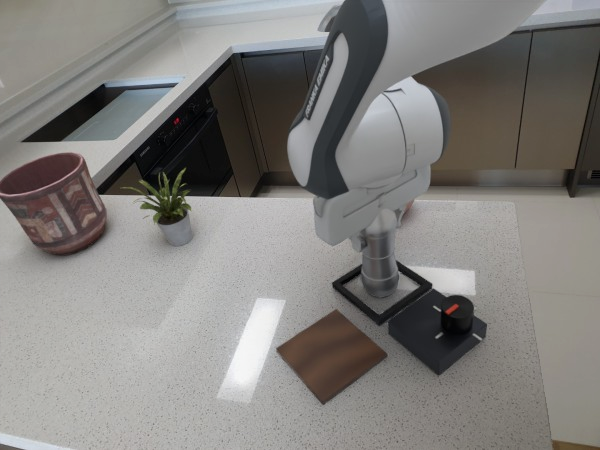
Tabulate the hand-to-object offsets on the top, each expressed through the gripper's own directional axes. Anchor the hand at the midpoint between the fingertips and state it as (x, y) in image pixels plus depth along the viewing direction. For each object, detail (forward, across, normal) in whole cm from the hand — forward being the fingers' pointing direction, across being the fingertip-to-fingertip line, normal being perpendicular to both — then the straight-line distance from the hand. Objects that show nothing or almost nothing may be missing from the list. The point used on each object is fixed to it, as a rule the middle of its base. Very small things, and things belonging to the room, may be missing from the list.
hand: (376, 237), depth 72 cm
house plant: (+11, -22, +41) cm, 48 cm away
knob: (+8, +1, -15) cm, 17 cm away
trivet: (+11, -15, -5) cm, 19 cm away
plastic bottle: (+11, 0, 0) cm, 11 cm away
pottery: (+11, -39, +60) cm, 72 cm away
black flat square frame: (+11, 0, 0) cm, 11 cm away
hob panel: (+11, -1, -13) cm, 17 cm away
